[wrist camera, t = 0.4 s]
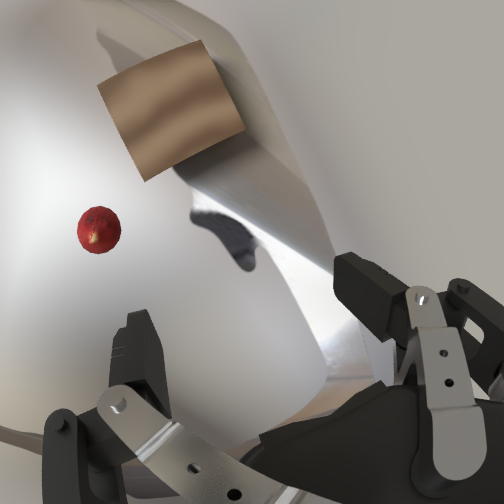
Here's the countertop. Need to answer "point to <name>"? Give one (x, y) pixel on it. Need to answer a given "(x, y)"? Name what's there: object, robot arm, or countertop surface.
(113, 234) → the onion
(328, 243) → the countertop surface
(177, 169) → the countertop surface
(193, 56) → the walnut base
